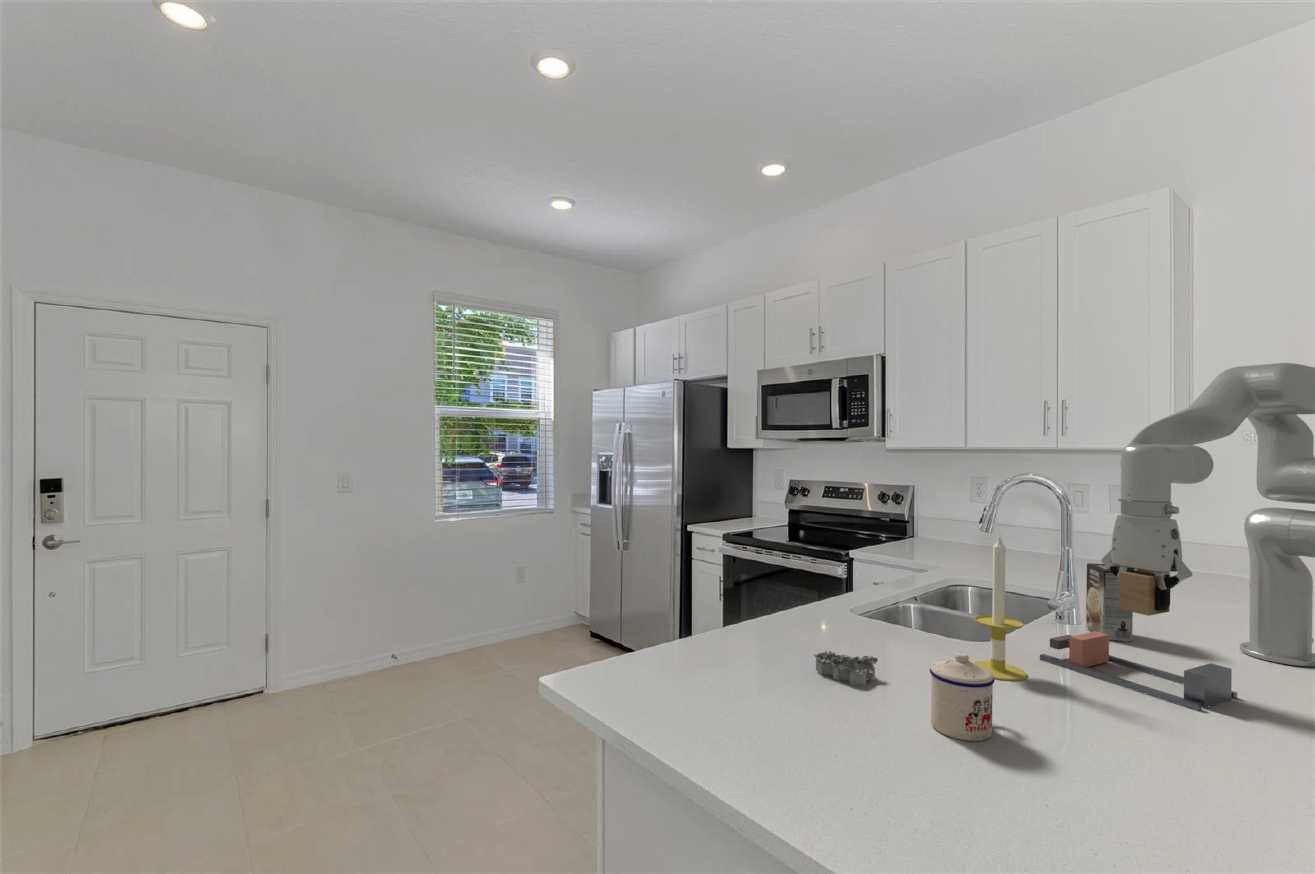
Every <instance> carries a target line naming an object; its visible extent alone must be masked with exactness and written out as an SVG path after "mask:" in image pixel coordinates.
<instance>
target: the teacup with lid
mask: <svg viewBox="0 0 1315 874" xmlns="http://www.w3.org/2000/svg"><path fill="white" fill-rule="evenodd" d="M969 657H970V656H969V655H968V654H967V653H964V652H955V654H954V657H951V658H948V659H946V660H939V661H935V662H933V663H932V664H931V666H930V668H929V673H930V674H931V675H930V677H931V678H930V723H931V726H932V728H933V729H935V730H936V731H937V732H939V733H941V734H943V735H944V736H946V737H949V738H954V739H956V740H960V741H965V742H966V741H967V742H968V741H969V742H980V741H981V742H982V741H985V740H988V739H989V738H991V736H992V735H993V685H994V683H995V679H994V678H993V675H992V673H991V672H990V671H988V670H987V669H985V668H983V667H981V666H978V665H977V664H975V663H974V662H975V661H972V660H970V659H969Z"/></svg>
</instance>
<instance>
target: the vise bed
mask: <svg viewBox="0 0 1315 874" xmlns="http://www.w3.org/2000/svg"><path fill="white" fill-rule="evenodd" d="M1039 660H1041V661H1043V660H1044V662H1046V661H1047V662H1046V663H1049V662H1050V663H1049V664H1053V665H1055V666H1058V665H1060V667H1061V666H1062V668H1064V667H1065V668H1064V669H1068V670H1071V671H1074V670H1075V672H1077V673H1080V674H1082V675H1083V674H1084V675H1086V674H1088V675H1087V676H1089V675H1090V676H1089V677H1093V678H1094V679H1095V678H1096V679H1099V680H1101V679H1102V681H1104V682H1105V681H1106V682H1108V683H1111V684H1114V683H1115V684H1114V685H1117V684H1118V685H1117V686H1120V685H1121V686H1120V687H1123V686H1124V687H1123V688H1126V689H1129V688H1131V689H1130V690H1132V689H1134V690H1133V691H1135V690H1137V691H1136V692H1138V691H1140V692H1139V693H1141V692H1143V693H1142V694H1144V693H1147V694H1150V695H1152V696H1151V697H1153V696H1155V697H1154V698H1156V697H1160V698H1162V699H1161V700H1163V699H1165V700H1164V701H1166V700H1167V701H1166V702H1169V703H1172V702H1174V703H1173V704H1175V703H1176V705H1178V704H1180V705H1179V706H1181V705H1182V707H1184V706H1186V707H1185V708H1187V707H1189V708H1188V709H1190V708H1191V710H1193V709H1194V710H1193V711H1196V712H1200V711H1202V710H1203V708H1206V707H1208V706H1212V707H1214V706H1213V705H1215V706H1217V705H1216V704H1218V705H1220V704H1219V703H1221V704H1223V703H1222V702H1224V703H1226V701H1227V702H1229V700H1230V701H1232V700H1236V699H1238V692H1236V691H1235V690H1234V691H1233V690H1232V681H1233V680H1232V677H1233V676H1232V672H1233V671H1232V670H1233V669H1232V668H1231V667H1227V666H1223V665H1219V664H1215V663H1211V662H1210V663H1207V664H1204V665H1200V666H1195V667H1191V668H1189V669H1185V670H1183V676H1182V675H1178V674H1176V673H1171V672H1168V671H1164V670H1162V669H1157V668H1155V667H1151V666H1147V665H1144V664H1141V663H1137V662H1134V661H1131V660H1127V659H1123V658H1121V657H1117V656H1113V655H1110V654H1109V662H1108V663H1111V662H1112V664H1115V665H1117V666H1118V665H1119V666H1121V665H1124V666H1123V667H1125V666H1126V667H1125V668H1128V667H1129V668H1128V669H1131V668H1132V669H1131V670H1135V671H1138V670H1140V671H1139V672H1141V671H1143V672H1142V673H1145V672H1146V673H1145V674H1149V675H1151V674H1154V675H1153V676H1155V675H1156V676H1155V677H1158V676H1159V678H1161V677H1162V678H1163V679H1165V680H1168V679H1171V680H1174V681H1173V682H1175V681H1177V682H1176V683H1178V682H1180V683H1179V684H1181V683H1184V684H1183V697H1181V696H1179V695H1175V694H1171V693H1168V692H1165V691H1162V690H1159V689H1155V688H1153V687H1150V686H1147V685H1144V684H1140V683H1137V682H1133V681H1130V680H1127V679H1124V678H1121V677H1117V676H1115V675H1111V674H1110V673H1109V674H1108V673H1105V672H1101V671H1099V670H1097V669H1093V668H1090V667H1084V666H1080V665H1077V664H1074V663H1071V662H1069V661H1067V660H1065V659H1061V658H1057V657H1056V656H1052V655H1048V654H1046V653H1041V654H1039ZM1171 680H1170V681H1171ZM1147 694H1146V695H1147ZM1150 695H1149V696H1150ZM1160 698H1159V699H1160ZM1232 698H1233V699H1232ZM1235 698H1236V699H1235ZM1202 707H1203V708H1202ZM1206 709H1207V708H1206ZM1199 710H1200V711H1199Z"/></svg>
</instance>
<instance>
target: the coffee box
mask: <svg viewBox="0 0 1315 874" xmlns="http://www.w3.org/2000/svg"><path fill="white" fill-rule="evenodd" d="M1116 578H1117V577H1116V576H1115V575H1114V574H1113V573H1112V572H1111V571H1110V569H1109V568H1108V567H1107V566H1106V565H1105V564H1103V563H1086V592H1085V593H1086V594H1085V595H1086V596H1085V597H1086V598H1085V599H1086V601H1085V608H1086V609H1085V629H1086V628H1088V629H1089V630H1090V631H1089V630H1088V629H1087V630H1088V631H1089V632H1090V633H1091V632H1095V631H1097V632H1101V633H1104V634H1108V635H1109V641H1113V640H1122V641H1121V642H1128V641H1132V642H1133V621H1134V620H1133V617H1134V615H1133V614H1134V612H1130V611H1126V610H1121V609H1119V581H1118V580H1117V579H1116Z"/></svg>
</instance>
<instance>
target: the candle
mask: <svg viewBox="0 0 1315 874" xmlns="http://www.w3.org/2000/svg"><path fill="white" fill-rule="evenodd" d="M1005 598H1006V545H1004V544H1003V540H1002V537H1001V533H999V534H998V536H997V540H996V542H995V544H994V545H992V603H991V604H992V609H991V610H992V613H991V614H980V615H976V616H974V618H973V620H974V621H975V623H977V624H978V625H982V626H985V627H989V628H990V660H977V661H973V662H974V663H975V664H977V665H978V666H981V667H983V668H985V669H987V670H988V671H990V672H991V673H992V675H993V678H994V680H998V681H1006V682H1021V681H1023V680H1026V679H1027V677H1028V674H1027V672H1026V671H1025V670H1024V669H1022V668H1019V667H1018V666H1015V665H1012V664H1010V663H1006V630H1019V629H1022V628H1023V627H1024V623H1023V622H1022V621H1020V620H1018V619H1016V618H1015V619H1014V618H1011V617H1007V616H1005V615H1006V614H1005V613H1006V611H1005V610H1006V607H1005V606H1006V603H1005V602H1006V599H1005Z"/></svg>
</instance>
